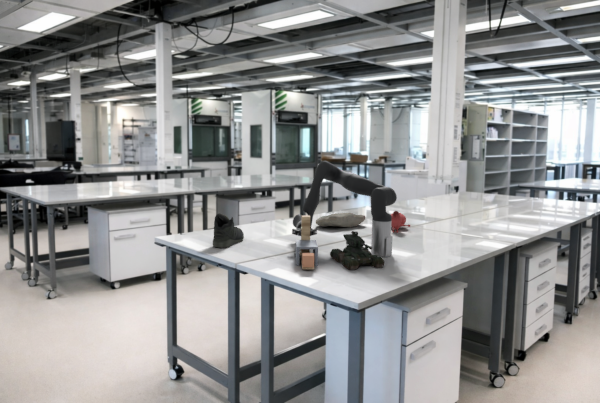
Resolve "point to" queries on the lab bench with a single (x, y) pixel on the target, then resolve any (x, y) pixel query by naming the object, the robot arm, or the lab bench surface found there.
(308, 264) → the block
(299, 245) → the tunnel
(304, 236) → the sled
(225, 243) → the sneaker
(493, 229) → the lab bench surface
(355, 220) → the stone
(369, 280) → the lab bench surface
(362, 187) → the robot arm
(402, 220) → the toy
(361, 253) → the toy tank
